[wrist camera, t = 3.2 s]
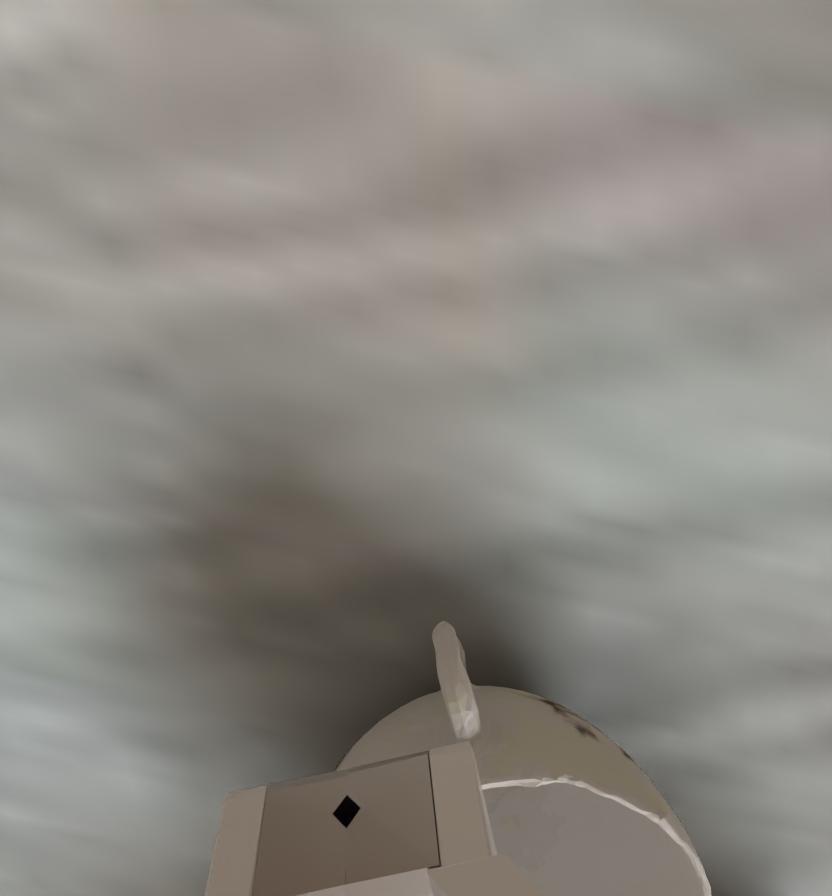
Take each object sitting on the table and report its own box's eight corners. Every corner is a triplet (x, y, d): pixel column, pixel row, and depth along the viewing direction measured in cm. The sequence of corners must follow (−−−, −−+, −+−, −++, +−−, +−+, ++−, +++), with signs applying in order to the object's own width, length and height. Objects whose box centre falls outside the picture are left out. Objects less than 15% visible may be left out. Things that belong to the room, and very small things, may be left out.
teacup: (636, 841, 32) (716, 1061, 24) (333, 883, 32) (319, 1115, 24) (626, 518, 26) (727, 680, 18) (252, 571, 26) (202, 754, 18)
